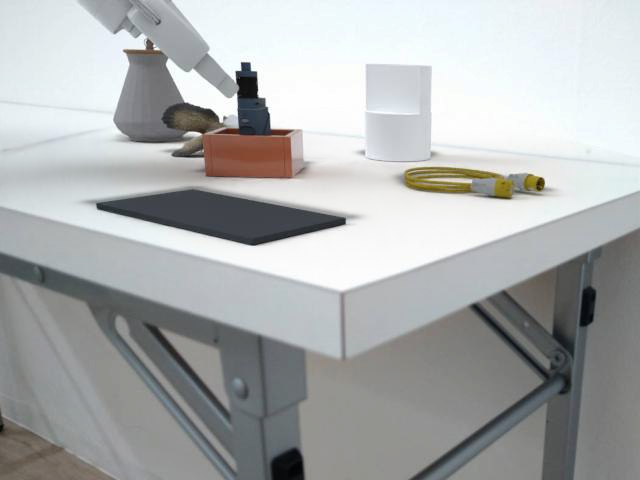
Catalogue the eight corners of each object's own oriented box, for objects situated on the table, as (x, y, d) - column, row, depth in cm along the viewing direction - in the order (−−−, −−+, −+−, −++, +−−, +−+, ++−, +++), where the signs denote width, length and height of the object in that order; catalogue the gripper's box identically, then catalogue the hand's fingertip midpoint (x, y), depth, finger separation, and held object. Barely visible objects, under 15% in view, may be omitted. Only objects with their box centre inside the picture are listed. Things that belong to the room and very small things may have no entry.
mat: (96, 208, 64) (95, 202, 64) (193, 194, 72) (192, 188, 72) (252, 245, 54) (252, 238, 54) (346, 223, 61) (346, 217, 61)
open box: (205, 176, 82) (202, 134, 81) (224, 165, 90) (221, 127, 89) (292, 178, 83) (290, 136, 81) (303, 167, 91) (302, 129, 89)
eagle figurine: (215, 139, 106) (153, 130, 99) (233, 97, 102) (170, 85, 95) (235, 174, 103) (173, 167, 96) (255, 132, 99) (191, 122, 92)
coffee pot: (195, 143, 110) (185, 34, 105) (111, 143, 107) (97, 31, 102) (195, 129, 129) (187, 37, 124) (124, 129, 126) (112, 34, 121)
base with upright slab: (442, 156, 104) (444, 65, 100) (409, 163, 96) (410, 65, 92) (387, 151, 108) (387, 63, 104) (352, 157, 100) (350, 63, 96)
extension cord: (444, 203, 71) (445, 182, 70) (386, 178, 84) (386, 160, 84) (552, 197, 76) (553, 177, 75) (481, 174, 89) (482, 157, 88)
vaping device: (237, 174, 84) (229, 61, 80) (255, 167, 89) (248, 61, 85) (259, 175, 84) (252, 62, 80) (275, 168, 89) (270, 62, 85)
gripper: (141, -42, 67) (258, 74, 74) (154, -24, 86) (247, 67, 92) (95, 9, 68) (215, 120, 74) (117, 16, 86) (213, 105, 92)
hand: (233, 91), depth 83 cm, fingers open, 8 cm apart
